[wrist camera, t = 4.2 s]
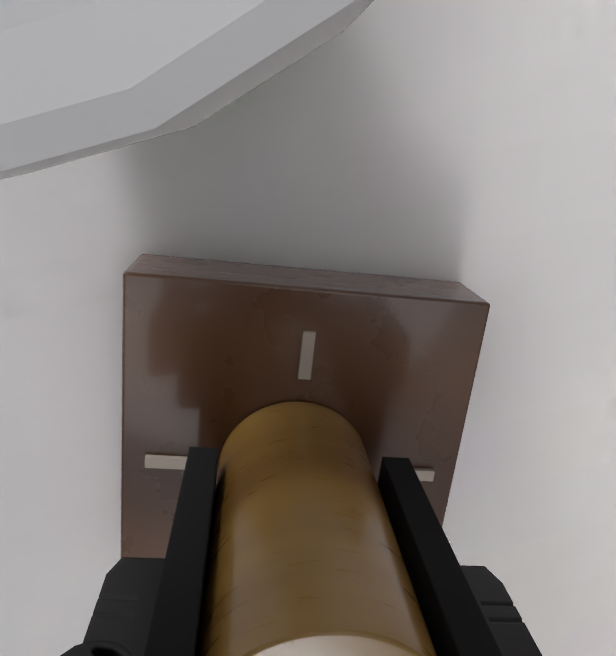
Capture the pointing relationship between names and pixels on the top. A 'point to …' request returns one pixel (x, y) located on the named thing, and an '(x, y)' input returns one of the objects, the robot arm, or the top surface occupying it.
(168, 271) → the volume panel
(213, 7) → the cup
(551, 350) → the top surface
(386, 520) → the volume knob
